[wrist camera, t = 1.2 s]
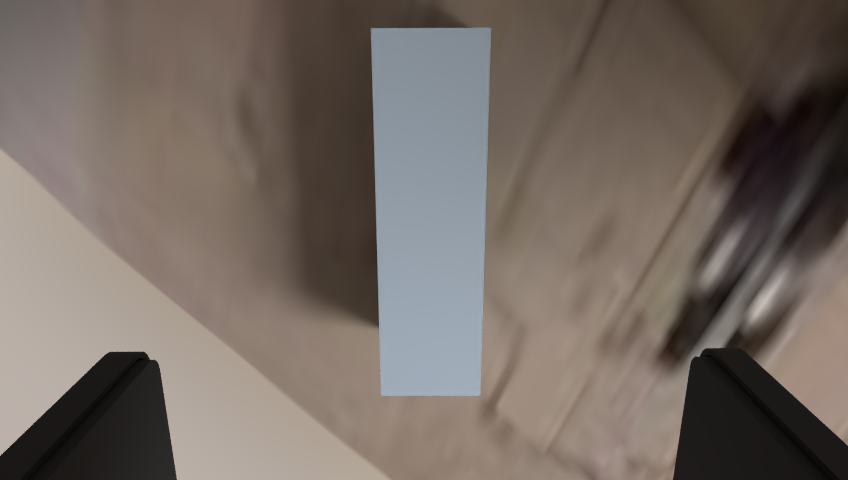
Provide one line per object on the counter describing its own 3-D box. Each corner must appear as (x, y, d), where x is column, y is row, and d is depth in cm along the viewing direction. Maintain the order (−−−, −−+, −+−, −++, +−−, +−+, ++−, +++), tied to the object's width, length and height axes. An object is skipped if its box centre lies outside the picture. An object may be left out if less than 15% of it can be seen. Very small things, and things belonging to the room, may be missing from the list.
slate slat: (475, 33, 25) (491, 27, 20) (469, 329, 30) (480, 395, 24) (382, 33, 25) (370, 28, 20) (389, 329, 30) (381, 395, 24)
